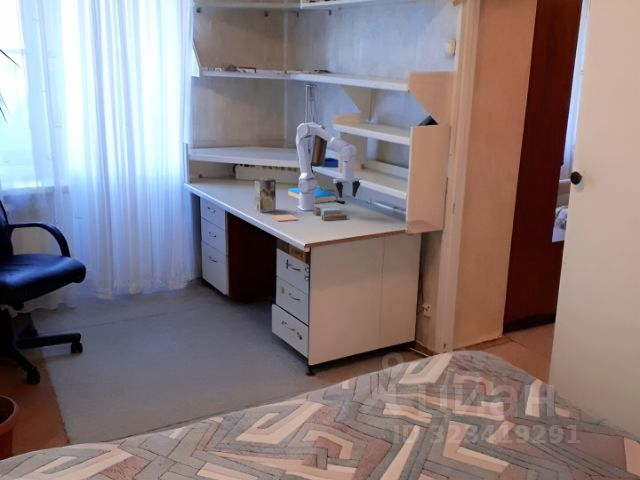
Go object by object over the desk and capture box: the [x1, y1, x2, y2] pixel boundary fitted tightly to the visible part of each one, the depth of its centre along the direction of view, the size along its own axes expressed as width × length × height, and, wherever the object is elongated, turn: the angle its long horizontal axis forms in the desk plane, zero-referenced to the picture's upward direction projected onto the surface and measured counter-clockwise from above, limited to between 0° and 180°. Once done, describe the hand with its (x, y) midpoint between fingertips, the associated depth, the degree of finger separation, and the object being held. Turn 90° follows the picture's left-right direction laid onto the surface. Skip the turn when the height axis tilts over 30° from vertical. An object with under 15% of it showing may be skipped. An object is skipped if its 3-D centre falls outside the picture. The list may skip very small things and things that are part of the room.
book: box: [287, 187, 338, 204], centre depth 370 cm, size 17×4×25 cm
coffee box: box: [253, 177, 277, 213], centre depth 336 cm, size 9×6×16 cm
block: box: [320, 207, 340, 217], centre depth 329 cm, size 5×8×4 cm, turn 107°
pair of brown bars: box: [313, 209, 348, 222], centre depth 329 cm, size 14×12×2 cm
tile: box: [271, 213, 299, 223], centre depth 323 cm, size 10×10×1 cm
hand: (347, 196), depth 330 cm, fingers open, 7 cm apart
